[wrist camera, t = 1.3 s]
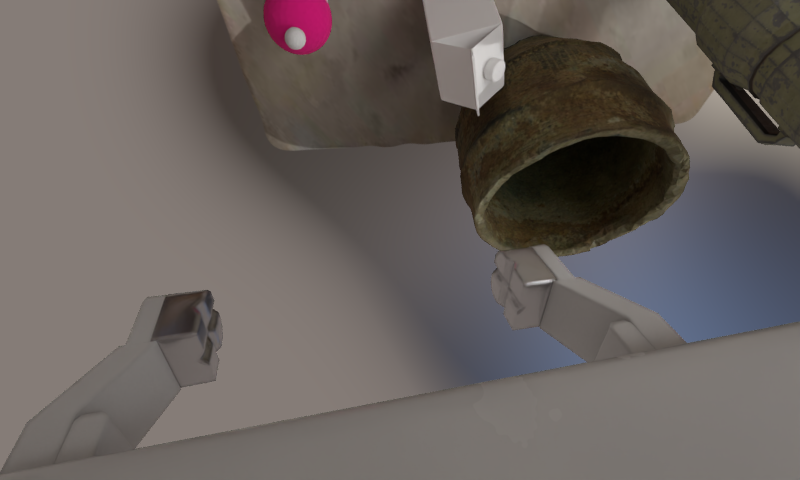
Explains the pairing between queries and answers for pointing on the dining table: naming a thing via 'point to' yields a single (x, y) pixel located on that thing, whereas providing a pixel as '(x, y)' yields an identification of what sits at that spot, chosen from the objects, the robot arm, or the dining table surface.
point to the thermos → (752, 60)
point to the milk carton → (466, 49)
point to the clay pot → (568, 150)
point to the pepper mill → (298, 24)
